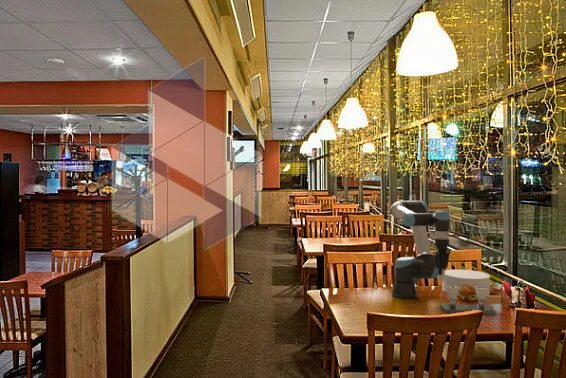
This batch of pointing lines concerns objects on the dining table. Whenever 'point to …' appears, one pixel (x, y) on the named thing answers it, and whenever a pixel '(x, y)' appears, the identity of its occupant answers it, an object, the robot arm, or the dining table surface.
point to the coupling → (452, 293)
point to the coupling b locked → (487, 296)
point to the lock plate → (467, 307)
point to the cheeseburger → (467, 293)
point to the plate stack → (466, 279)
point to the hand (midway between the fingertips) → (441, 280)
